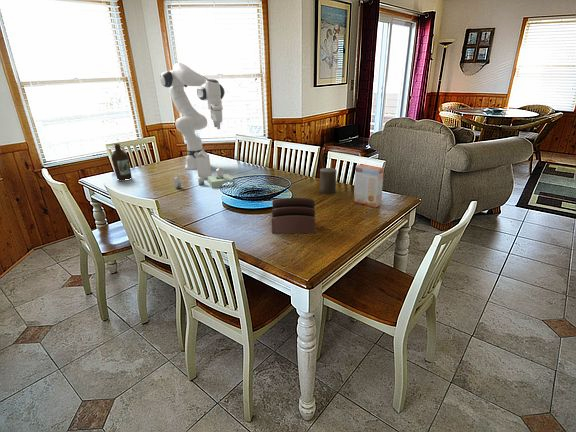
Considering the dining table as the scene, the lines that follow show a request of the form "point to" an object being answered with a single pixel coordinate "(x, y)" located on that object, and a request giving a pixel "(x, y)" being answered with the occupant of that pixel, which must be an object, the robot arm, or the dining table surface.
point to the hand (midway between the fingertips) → (217, 128)
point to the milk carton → (203, 164)
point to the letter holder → (293, 215)
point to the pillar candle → (327, 180)
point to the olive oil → (121, 163)
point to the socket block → (219, 180)
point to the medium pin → (177, 182)
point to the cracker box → (368, 185)
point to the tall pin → (219, 173)
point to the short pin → (201, 181)
